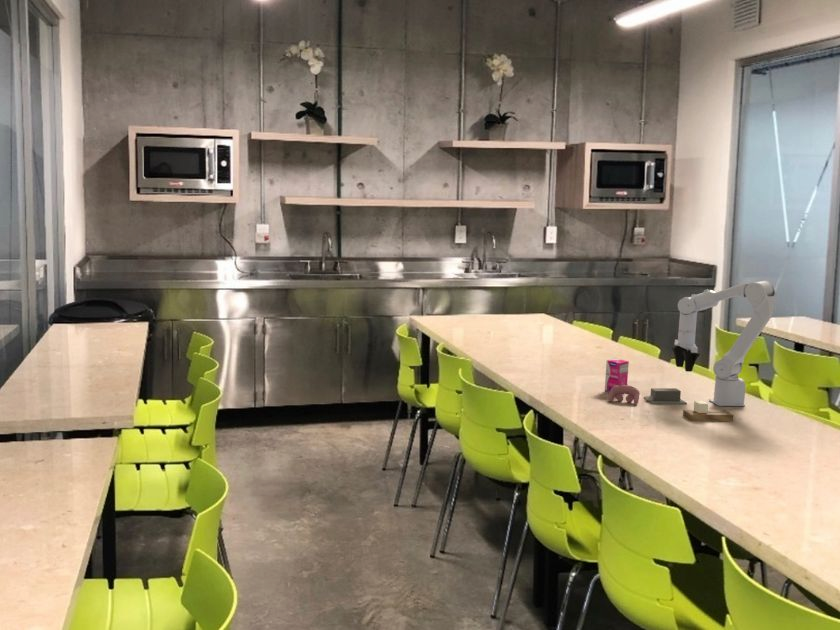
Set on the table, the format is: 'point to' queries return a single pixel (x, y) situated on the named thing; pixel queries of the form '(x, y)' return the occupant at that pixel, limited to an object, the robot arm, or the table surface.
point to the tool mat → (667, 402)
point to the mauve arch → (624, 389)
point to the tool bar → (664, 394)
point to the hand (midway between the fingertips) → (684, 369)
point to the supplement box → (616, 373)
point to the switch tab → (700, 406)
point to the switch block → (708, 415)
